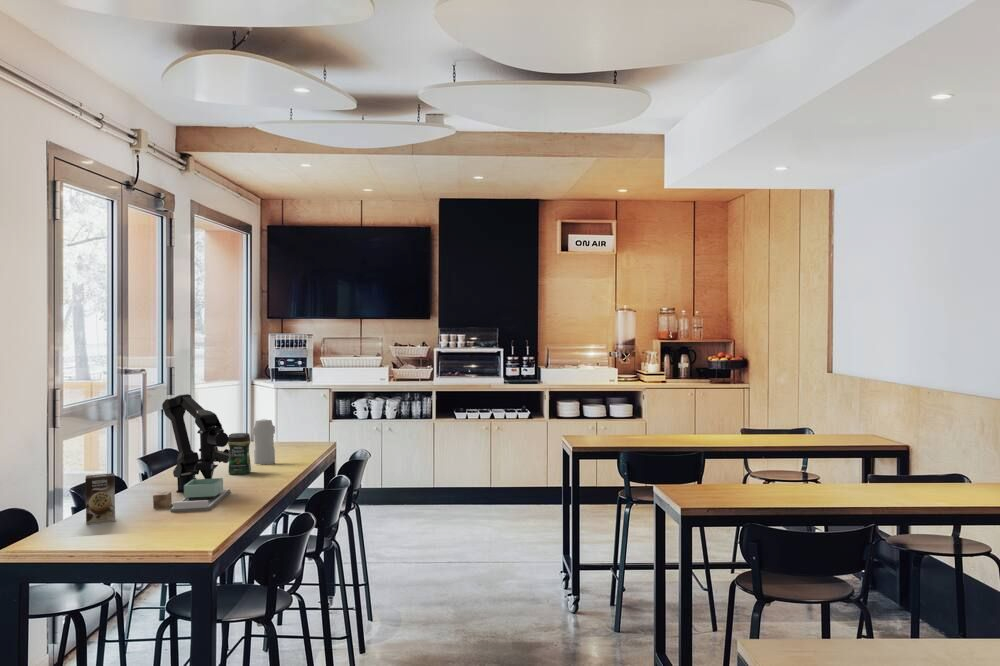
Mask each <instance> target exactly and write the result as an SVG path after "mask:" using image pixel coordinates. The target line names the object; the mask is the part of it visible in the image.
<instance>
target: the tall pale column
mask: <svg viewBox="0 0 1000 666" xmlns="http://www.w3.org/2000/svg"><path fill="white" fill-rule="evenodd" d="M272 421H273V420H272V419H267V418H266V419H265V418H263V419H257V420H255V422H254V425H253V427H252V435H253V439H254V441H253V442H254V449H253V457H254V458H253V459H254V460H253V461H254V464H266V465H275V464H276V457H275V456H276V453H275V452H276V451H275V450H276V449H275V445H274V441H275V439H274V437H275V434H276V427H275V425H274V424H273V422H272Z"/></svg>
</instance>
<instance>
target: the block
mask: <svg viewBox="0 0 1000 666" xmlns="http://www.w3.org/2000/svg"><path fill="white" fill-rule="evenodd" d="M152 503H153V506H152V507H153V509H167V508H169V507H170V506H171V505H172V503H173V502H172V491H162V492H161V491H160V492H156V493H155V494H153V495H152Z"/></svg>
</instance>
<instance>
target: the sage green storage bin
mask: <svg viewBox="0 0 1000 666" xmlns="http://www.w3.org/2000/svg"><path fill="white" fill-rule="evenodd" d="M222 490H224V478H223V477H217V478H216V477H214V478H213V477H212V479H205V478H197V479H193V480H191V481H190V482H188V483H187V484H185V485H184V492H183V497H184V498H188V497H189V500H191V499H192V497H208V496H211V498H212V499H214V496H216V495H218V494H219V493H220V492H221V491H222ZM184 498H183V499H184Z"/></svg>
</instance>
